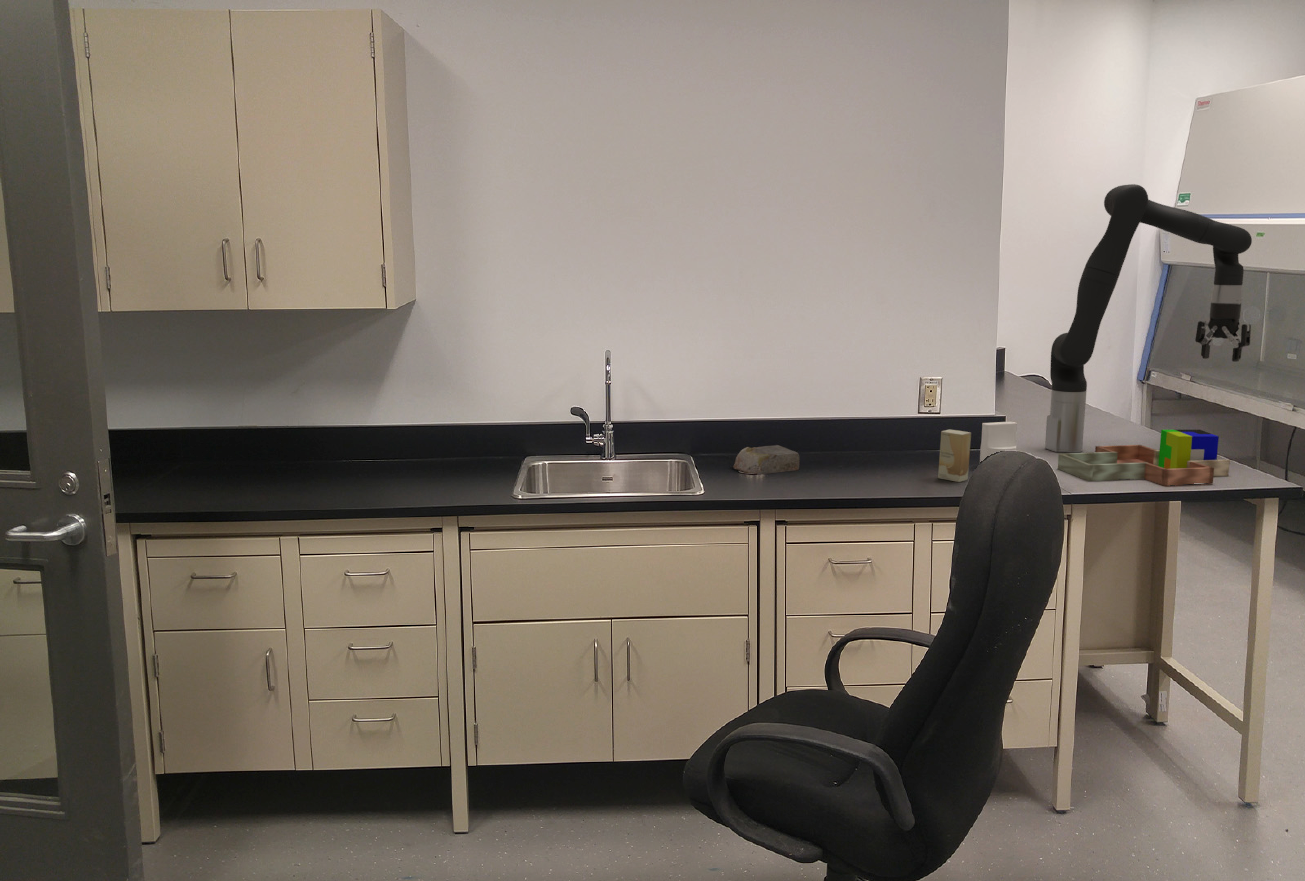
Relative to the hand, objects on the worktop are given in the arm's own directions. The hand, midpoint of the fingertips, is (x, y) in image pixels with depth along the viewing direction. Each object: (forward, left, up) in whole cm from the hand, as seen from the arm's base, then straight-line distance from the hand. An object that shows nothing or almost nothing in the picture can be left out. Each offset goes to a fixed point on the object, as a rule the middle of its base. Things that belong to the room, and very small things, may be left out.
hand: (1220, 359), depth 299 cm
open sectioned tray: (-36, -24, -26) cm, 50 cm away
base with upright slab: (-70, -13, -26) cm, 76 cm away
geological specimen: (-130, -3, -26) cm, 133 cm away
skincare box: (-87, -24, -26) cm, 94 cm away
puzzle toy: (-24, -24, -26) cm, 43 cm away
